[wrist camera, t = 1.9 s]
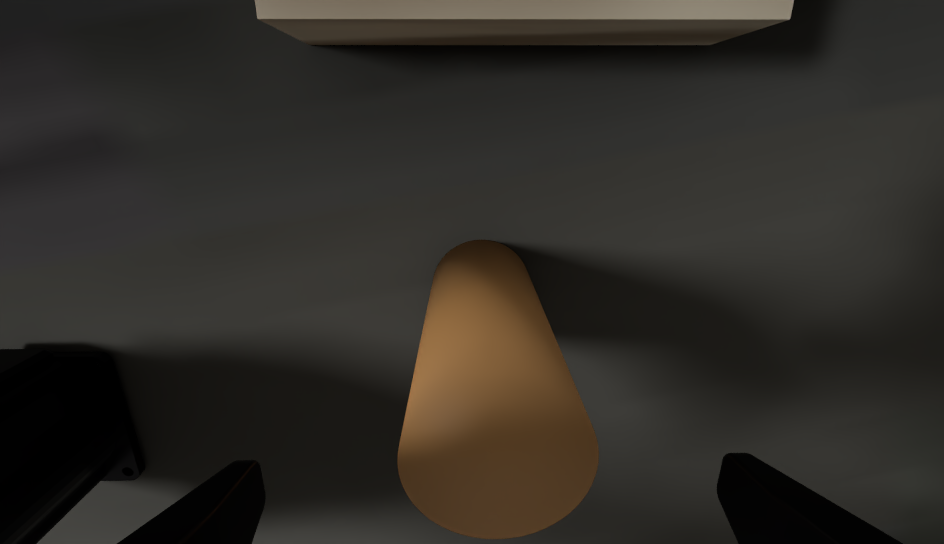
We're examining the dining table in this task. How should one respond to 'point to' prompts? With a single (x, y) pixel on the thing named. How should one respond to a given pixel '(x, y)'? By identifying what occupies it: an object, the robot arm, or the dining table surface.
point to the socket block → (520, 21)
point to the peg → (492, 405)
